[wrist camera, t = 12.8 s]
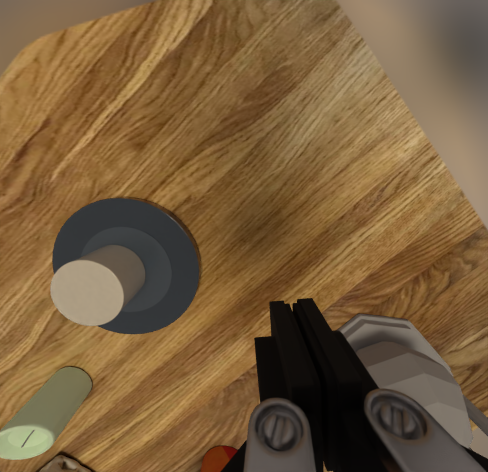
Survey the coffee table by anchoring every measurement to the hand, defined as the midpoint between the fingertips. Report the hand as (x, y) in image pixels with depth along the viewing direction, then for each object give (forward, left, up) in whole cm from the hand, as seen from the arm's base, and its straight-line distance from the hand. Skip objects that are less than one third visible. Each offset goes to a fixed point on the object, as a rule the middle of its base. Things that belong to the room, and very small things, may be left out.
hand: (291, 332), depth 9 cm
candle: (+18, -26, -19) cm, 36 cm away
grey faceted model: (+22, +15, -19) cm, 32 cm away
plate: (+2, -15, -18) cm, 24 cm away
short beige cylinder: (+2, -16, -17) cm, 23 cm away
